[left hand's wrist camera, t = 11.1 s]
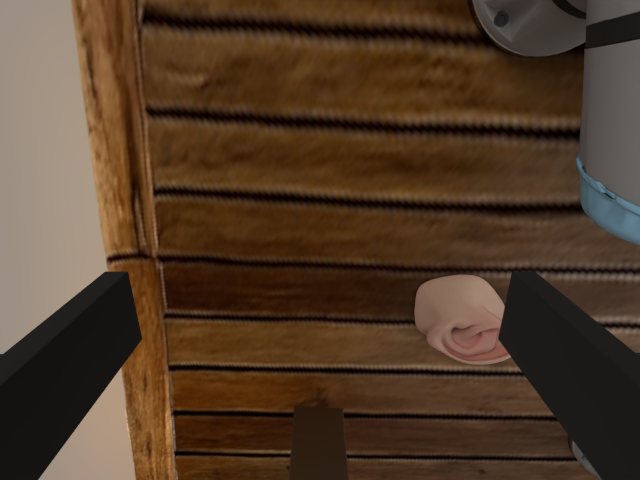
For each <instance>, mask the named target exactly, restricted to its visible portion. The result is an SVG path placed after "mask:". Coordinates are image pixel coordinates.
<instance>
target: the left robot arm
mask: <svg viewBox="0 0 640 480" xmlns="http://www.w3.org/2000/svg"><path fill="white" fill-rule="evenodd" d="M468 3H469V7H470V10H471V13H472V16H473V19H474V21H475V23H476V25H477V26H478V28H479V30H480V31H481V33H482V34H483V35H484V36H485V37H486V39H487V40H488V41H490V42H491V43H492V44H493V45H494V46H496V47H497V48H499V49H500V50H502V51H504V52H506V53H508V54H511V55H515V56H519V57H526V58H536V57H544V56H550V55H555V54H558V53H562V52H565V51H567V50H570V49H572V48H574V47H576V46H579V45H581V44H583V43H584V42H585V48H586V49H585V52H584V75H583V94H582V111H581V128H580V145H579V153H578V155H577V157H576V165H577V168H578V171H579V172H580V202H581V205H582V208H583V209H584V211H585V213H586V214H587V215H588V216H589V217H590V218H592V219H593V220H594V222H595V223H596V224H597V225H598V226H599V227H601V228H603V229H604V230H606V231H607V232H609V233H611V234H613V235H615V236H617V237H619V238H621V239H624V240H626V241H629V242H631V243H634V244H637V245H640V0H468ZM141 340H142V336H141V331H140V327H139V322H138V317H137V313H136V308H135V303H134V299H133V294H132V289H131V285H130V280H129V275H128V272H104V273H103V274H102V275H101V276H99V277H98V278H97V279H96V280H94V281H93V282H92V283H91V284H90V285H88V286H87V287H86V288H84V289H83V290H82V291H81V292H80V293H78V294H77V295H76V296H75V297H73V298H72V299H71V300H70V301H68V302H67V303H66V304H65V305H63V306H62V307H61V308H60V309H59V310H57V311H56V312H55V313H54V314H52V315H51V316H50V317H49V318H47V319H46V320H45V321H44V322H42V323H41V324H40V325H39V326H37V327H36V328H35V329H34V330H32V331H31V332H30V333H29V334H28V335H26V336H25V337H24V338H23V339H21V340H20V341H19V342H18V343H16V344H15V345H14V346H13V347H11V348H10V349H9V350H8V351H7V352H5V353H4V354H0V480H38V479H39V478H40V476H41V475H42V474H43V472H44V471H45V470H46V468H47V467H48V466H49V464H50V463H51V461H52V460H53V459H54V457H55V456H56V455H57V453H58V452H59V451H60V449H61V448H62V447H63V445H64V444H65V443H66V441H67V440H68V439H69V437H70V436H71V434H72V433H73V432H74V430H75V429H76V428H77V426H78V425H79V424H80V422H81V421H82V420H83V418H84V417H85V416H86V414H87V413H88V411H89V410H90V409H91V407H92V406H93V405H94V403H95V402H96V401H97V399H98V398H99V397H100V395H101V394H102V393H103V391H104V390H105V388H106V387H107V386H108V384H109V383H110V382H111V380H112V379H113V378H114V376H115V375H116V374H117V372H118V371H119V370H120V368H121V367H122V365H123V364H124V363H125V361H126V360H127V359H128V357H129V356H130V355H131V353H132V352H133V351H134V349H135V348H136V347H137V345H138V344H139V342H140V341H141ZM498 340H499V341H500V342H501V344H502V345H503V347H504V348H505V349H506V351H507V352H508V353H509V355H510V356H511V357H512V359H513V360H514V361H515V363H516V364H517V365H518V367H519V368H520V370H521V371H522V372H523V374H524V375H525V376H526V378H527V379H528V380H529V382H530V383H531V384H532V386H533V387H534V388H535V390H536V391H537V393H538V394H539V395H540V397H541V398H542V399H543V401H544V402H545V403H546V405H547V406H548V407H549V409H550V410H551V411H552V413H553V414H554V416H555V417H556V418H557V420H558V421H559V422H560V424H561V425H562V426H563V428H564V429H565V430H566V432H567V433H568V434H569V436H570V437H571V439H572V440H573V441H574V443H575V444H576V445H577V447H578V448H579V449H580V451H581V452H582V453H583V455H584V456H585V457H586V459H587V460H588V461H589V463H590V464H591V466H592V467H593V468H594V470H595V471H596V472H597V474H598V475H599V476H600V478H601V479H602V480H640V353H635V352H634V351H632V350H631V349H630V348H629V347H627V346H626V345H625V344H624V343H622V342H621V341H620V340H619V339H617V338H616V337H615V336H614V335H612V334H611V333H610V332H609V331H608V330H606V329H605V328H604V327H603V326H601V325H600V324H599V323H598V322H596V321H595V320H594V319H593V318H591V317H590V316H589V315H588V314H586V313H585V312H584V311H583V310H582V309H580V308H579V307H578V306H577V305H575V304H574V303H573V302H572V301H570V300H569V299H568V298H567V297H565V296H564V295H563V294H562V293H560V292H559V291H558V290H557V289H556V288H554V287H553V286H552V285H551V284H549V283H548V282H547V281H546V280H544V279H543V278H542V277H541V276H539V275H538V274H537V273H536V272H512V275H511V280H510V285H509V289H508V294H507V299H506V303H505V308H504V313H503V317H502V322H501V327H500V331H499V336H498Z"/></svg>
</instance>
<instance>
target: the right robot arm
mask: <svg viewBox="0 0 640 480" xmlns="http://www.w3.org/2000/svg"><path fill="white" fill-rule="evenodd" d="M569 447H570V449H571V451H572V453H573V454H574V456H575V457H576V459H577V460H578V461H579V462H580V464H581V465H582V466H583V467H584V468H585V469H586V470H587V471H589V472H590V473H591V474H592V475H593V476H595V477H596V478H597V479H598V480H602V479H601V478H600V476H599V475H598V474H597V472H596V471H595V470H594V468H593V467H592V466H591V464H590V463H589V461H588V460H587V459H586V457H585V456H584V455H583V453H582V452H581V451H580V449H579V448H578V447H577V445H576V444H575V443H574V441H573V440H572V439H571V437H570V436H569Z"/></svg>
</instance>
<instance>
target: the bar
mask: <svg viewBox="0 0 640 480" xmlns="http://www.w3.org/2000/svg"><path fill="white" fill-rule="evenodd" d="M289 480H348V468H347V455H346V442H345V430H344V417H343V409H341V408H325V407H308V406H295V407H294V420H293V433H292V445H291V458H290V471H289Z"/></svg>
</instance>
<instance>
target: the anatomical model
mask: <svg viewBox="0 0 640 480" xmlns="http://www.w3.org/2000/svg"><path fill="white" fill-rule="evenodd" d="M504 308H505V306H504V304H503V302H502V301H501V299H500V297H499V296H498V295H497V293H496V292H495V290H494V289H493V288H492V287H491V286H490V285H489V284H488V283H487V282H486V281H485V280H484V279H482V278H480V277H478V276H474V275H451V276H445V277H440V278H436V279H433V280H429V281H427V282H425V283H423V284H422V285H421V286H420V287H419V289H418V291H417V295H416V300H415V311H414V313H415V323H416V326H417V328H418V330H419V331H420V332H421V333H423V334H424V335H426V336H427V342H428V344H429V345H430V346H431V347H433V348H435V349H436V350H438V351H440V352H442V353H444V354H445V355H447V356H449V357H451V358H452V359H454V360H457V361H459V362H462V363H466V364H473V365H485V364H493V363H497V362H501V361H504V360H506V359H508V358H510V357H511V356H510V355H509V353H508V352H507V351H506V349H505V348H504V347H503V345H502V344H501V342H500V341H499V340H498V336H499V331H500V327H501V322H502V317H503V313H504Z"/></svg>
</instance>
